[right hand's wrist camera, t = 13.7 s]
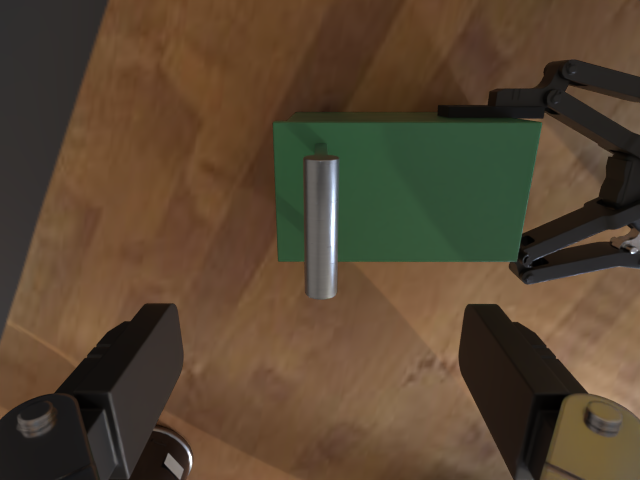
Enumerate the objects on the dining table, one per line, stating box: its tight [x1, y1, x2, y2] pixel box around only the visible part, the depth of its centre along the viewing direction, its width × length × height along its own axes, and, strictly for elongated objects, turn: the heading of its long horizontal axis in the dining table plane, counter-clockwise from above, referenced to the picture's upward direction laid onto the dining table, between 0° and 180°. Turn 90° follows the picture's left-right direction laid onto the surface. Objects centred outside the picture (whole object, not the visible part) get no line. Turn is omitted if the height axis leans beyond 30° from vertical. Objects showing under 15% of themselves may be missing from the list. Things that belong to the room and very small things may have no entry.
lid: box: [273, 121, 542, 299], centre depth 23 cm, size 16×9×8 cm, turn 90°
